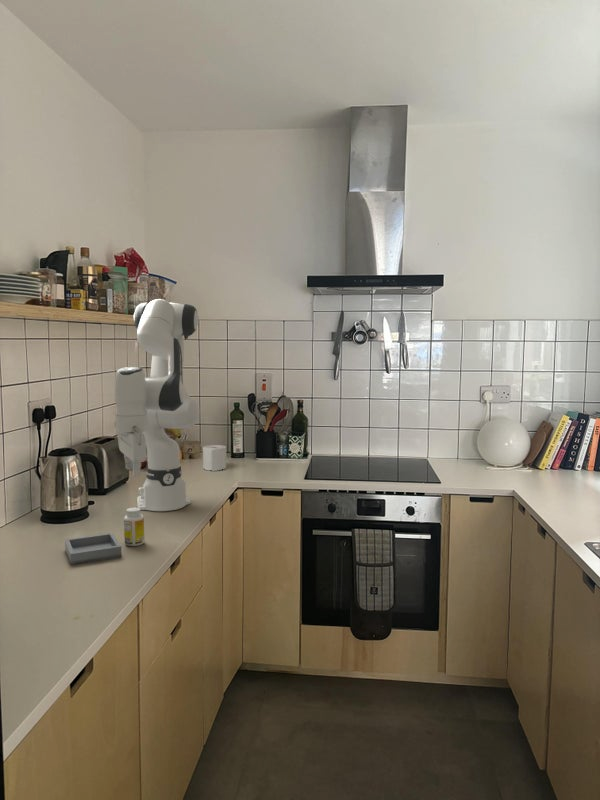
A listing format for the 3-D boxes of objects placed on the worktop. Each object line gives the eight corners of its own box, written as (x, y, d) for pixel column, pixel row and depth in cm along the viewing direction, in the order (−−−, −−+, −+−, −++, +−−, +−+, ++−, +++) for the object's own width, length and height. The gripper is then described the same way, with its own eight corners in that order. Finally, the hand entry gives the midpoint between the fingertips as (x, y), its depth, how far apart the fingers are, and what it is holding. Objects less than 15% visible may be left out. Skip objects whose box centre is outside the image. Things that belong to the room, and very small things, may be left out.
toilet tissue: (219, 465, 285) (219, 444, 284) (231, 469, 276) (231, 448, 275) (199, 467, 279) (198, 446, 278) (210, 472, 270) (210, 450, 269)
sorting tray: (65, 549, 170) (64, 539, 170) (112, 542, 176) (112, 532, 176) (70, 565, 159) (70, 554, 158) (121, 557, 165) (121, 546, 164)
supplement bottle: (145, 540, 179) (145, 506, 178) (142, 546, 173) (141, 511, 172) (126, 540, 178) (125, 506, 177) (122, 547, 172) (121, 512, 171)
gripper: (151, 428, 164) (152, 478, 166) (135, 419, 182) (136, 464, 184) (127, 430, 161) (129, 480, 163) (113, 420, 179) (114, 466, 181)
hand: (132, 472), depth 173 cm, fingers open, 8 cm apart
